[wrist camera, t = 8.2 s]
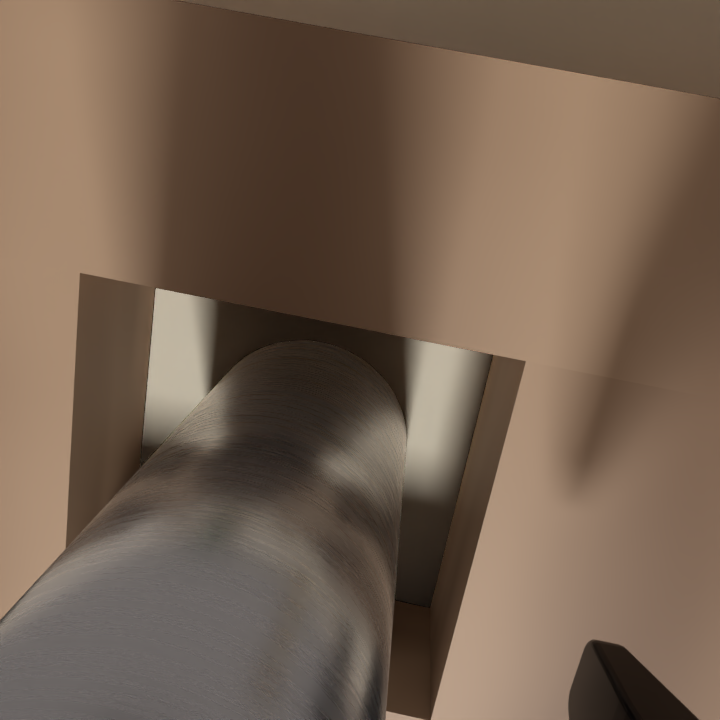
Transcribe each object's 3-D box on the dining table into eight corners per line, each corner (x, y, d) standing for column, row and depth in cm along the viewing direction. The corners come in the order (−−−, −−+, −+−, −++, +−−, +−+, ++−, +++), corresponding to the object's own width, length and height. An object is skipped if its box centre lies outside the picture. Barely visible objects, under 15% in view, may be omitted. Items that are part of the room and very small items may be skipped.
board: (971, 172, 11) (1161, 178, 8) (691, 809, 15) (753, 962, 12) (-200, -42, 12) (-402, -104, 9) (-156, 621, 16) (-283, 722, 13)
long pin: (425, 363, 13) (415, 962, 3) (385, 544, 14) (295, 1364, 5) (219, 321, 13) (-354, 780, 3) (198, 504, 14) (-272, 1215, 5)
